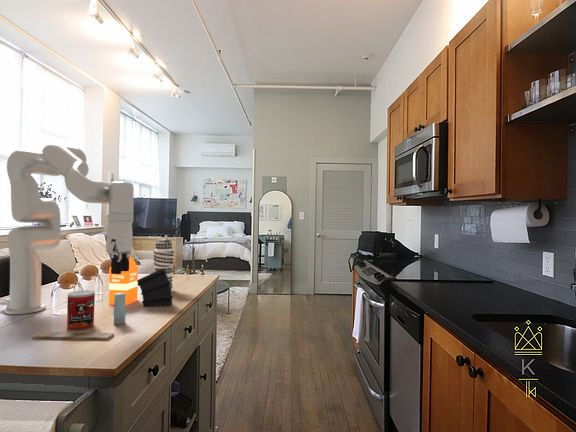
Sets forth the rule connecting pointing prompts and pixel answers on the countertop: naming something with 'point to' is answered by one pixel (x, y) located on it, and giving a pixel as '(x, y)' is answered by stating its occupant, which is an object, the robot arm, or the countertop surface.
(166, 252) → the decorative candle
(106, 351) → the countertop surface
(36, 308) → the robot arm
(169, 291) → the black layered block
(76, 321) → the canned food
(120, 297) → the peg
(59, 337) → the batten
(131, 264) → the orange juice
